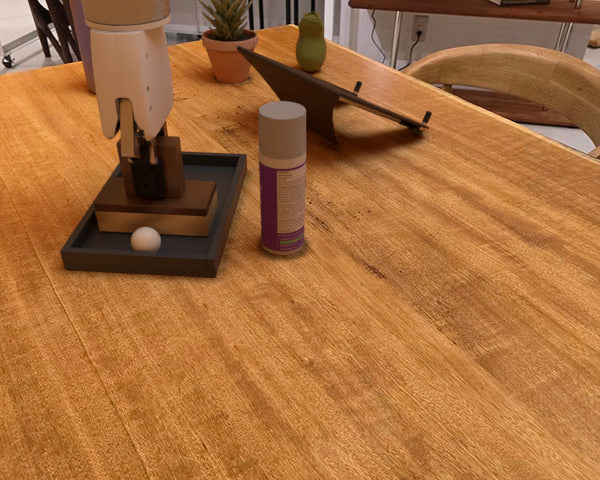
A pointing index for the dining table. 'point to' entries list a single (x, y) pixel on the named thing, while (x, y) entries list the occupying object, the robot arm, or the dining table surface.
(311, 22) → the pear
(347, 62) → the dining table surface
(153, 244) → the white ball
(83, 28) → the beverage can
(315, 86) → the laptop stand
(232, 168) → the tray
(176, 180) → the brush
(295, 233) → the container
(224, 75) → the potted plant
